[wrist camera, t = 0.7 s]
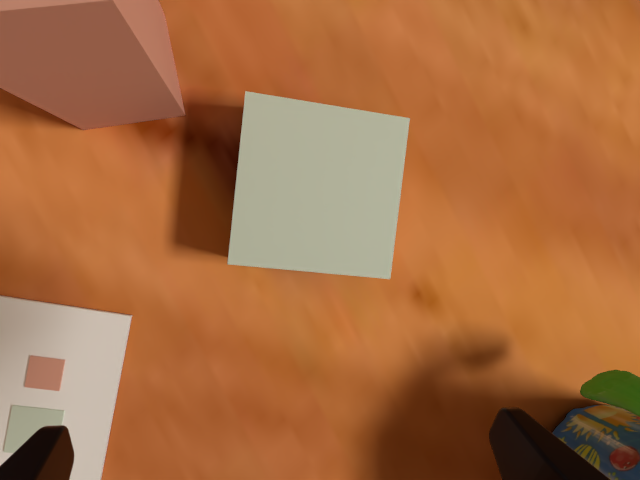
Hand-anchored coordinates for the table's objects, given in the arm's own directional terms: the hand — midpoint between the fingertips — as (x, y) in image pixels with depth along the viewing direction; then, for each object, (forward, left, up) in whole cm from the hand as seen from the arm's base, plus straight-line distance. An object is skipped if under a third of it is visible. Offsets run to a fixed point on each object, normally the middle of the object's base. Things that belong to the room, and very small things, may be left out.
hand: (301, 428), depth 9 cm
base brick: (+6, 0, -14) cm, 16 cm away
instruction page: (-9, +9, -14) cm, 19 cm away
